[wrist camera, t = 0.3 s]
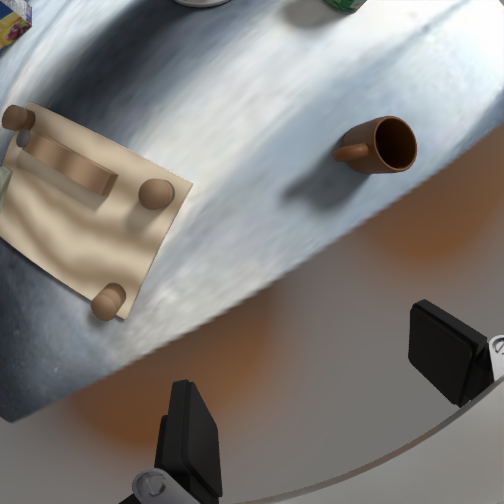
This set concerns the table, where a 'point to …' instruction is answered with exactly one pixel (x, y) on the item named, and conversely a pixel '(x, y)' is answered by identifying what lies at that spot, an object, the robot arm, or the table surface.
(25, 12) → the juice carton
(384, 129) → the mug
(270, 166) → the table surface
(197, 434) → the robot arm
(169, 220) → the stool seat
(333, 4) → the canned tomato
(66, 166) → the hinged leg
